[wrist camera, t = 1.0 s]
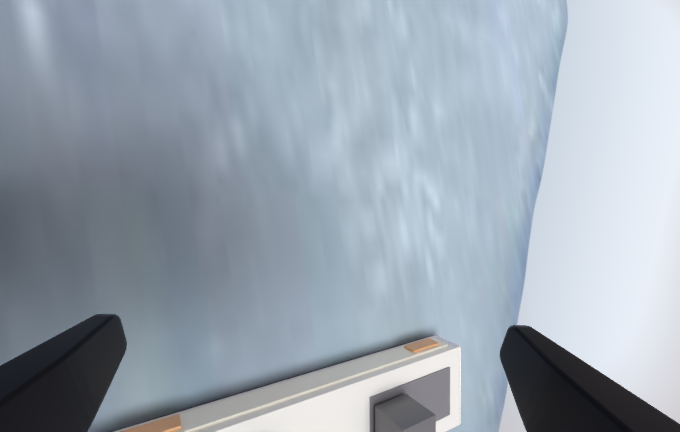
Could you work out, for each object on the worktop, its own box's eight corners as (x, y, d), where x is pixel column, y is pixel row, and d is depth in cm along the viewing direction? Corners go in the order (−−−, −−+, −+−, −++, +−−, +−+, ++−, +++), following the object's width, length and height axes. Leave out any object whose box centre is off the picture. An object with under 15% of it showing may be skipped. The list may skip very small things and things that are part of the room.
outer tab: (405, 431, 25) (435, 457, 23) (375, 446, 24) (403, 475, 21) (405, 393, 25) (435, 414, 22) (374, 406, 23) (403, 430, 21)
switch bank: (434, 406, 31) (461, 424, 29) (83, 567, 18) (72, 631, 15) (434, 330, 31) (461, 342, 29) (79, 434, 17) (67, 475, 15)
